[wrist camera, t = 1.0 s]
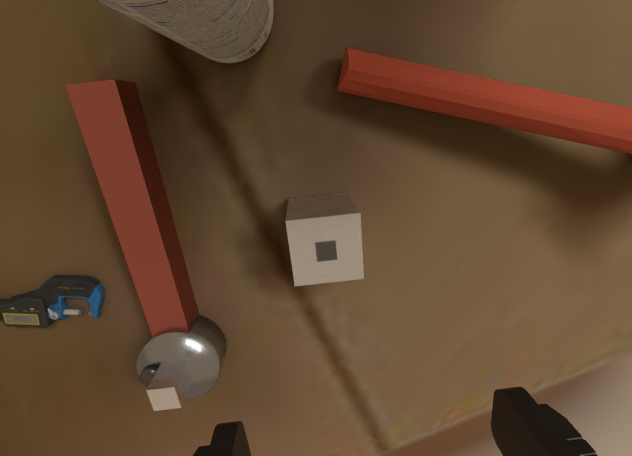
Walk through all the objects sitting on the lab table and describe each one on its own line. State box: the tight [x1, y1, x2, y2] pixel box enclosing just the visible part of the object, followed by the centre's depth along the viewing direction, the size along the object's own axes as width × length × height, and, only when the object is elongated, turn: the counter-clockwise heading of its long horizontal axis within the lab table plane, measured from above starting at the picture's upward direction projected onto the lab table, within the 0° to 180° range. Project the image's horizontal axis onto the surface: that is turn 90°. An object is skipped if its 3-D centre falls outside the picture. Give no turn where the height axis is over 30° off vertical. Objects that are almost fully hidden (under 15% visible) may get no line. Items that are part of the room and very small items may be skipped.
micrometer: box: [0, 275, 104, 328], centre depth 28 cm, size 12×2×5 cm
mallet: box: [337, 48, 632, 154], centre depth 22 cm, size 11×4×30 cm
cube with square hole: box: [286, 192, 364, 286], centre depth 25 cm, size 5×5×6 cm
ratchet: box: [65, 79, 226, 411], centre depth 25 cm, size 27×7×6 cm, turn 6°
